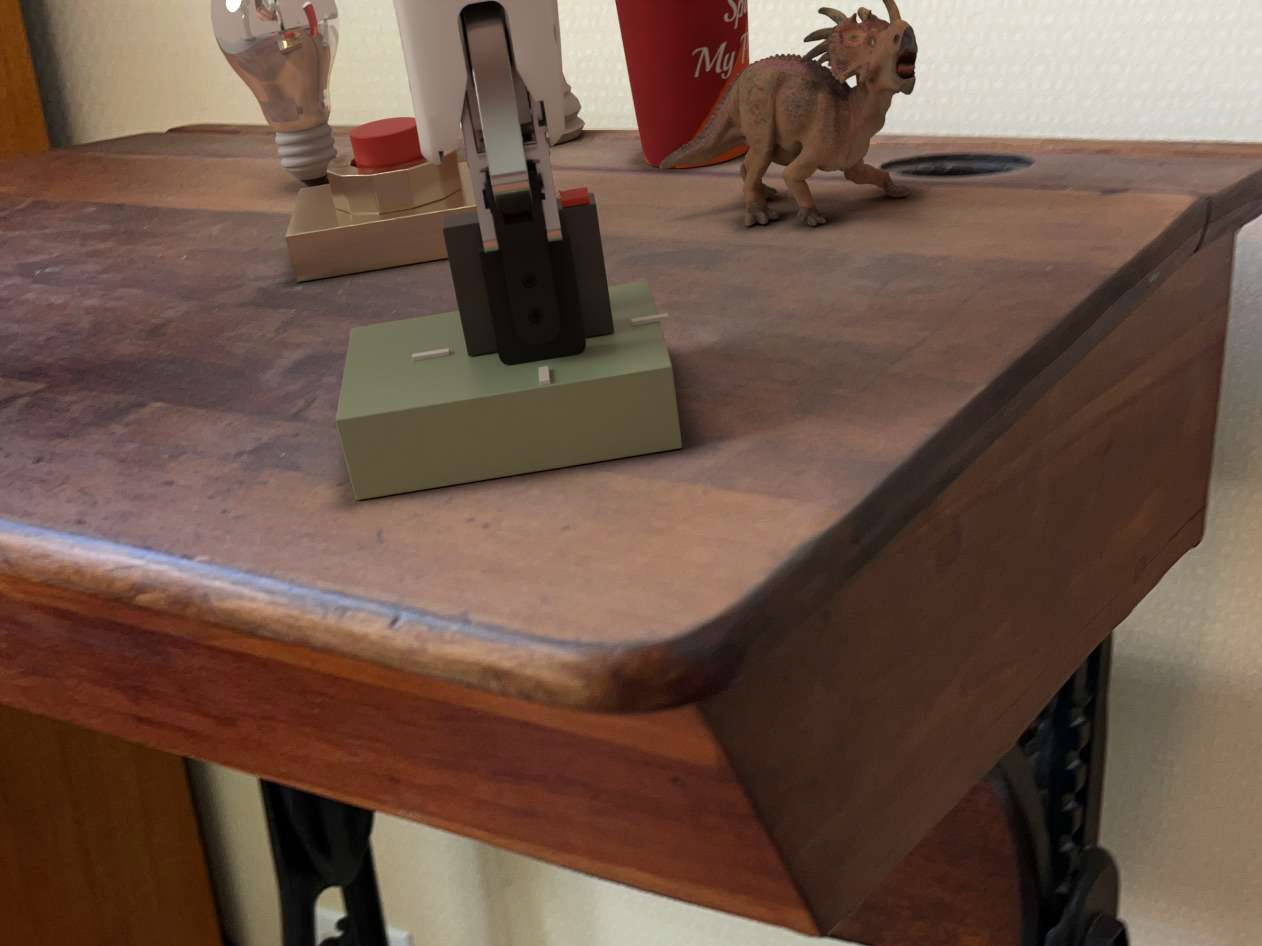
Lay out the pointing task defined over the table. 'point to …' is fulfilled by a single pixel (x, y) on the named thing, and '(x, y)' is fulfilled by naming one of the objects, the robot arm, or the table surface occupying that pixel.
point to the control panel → (501, 401)
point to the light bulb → (286, 72)
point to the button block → (376, 216)
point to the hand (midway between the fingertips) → (541, 333)
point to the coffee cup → (681, 67)
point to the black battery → (574, 219)
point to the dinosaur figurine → (812, 111)
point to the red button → (386, 142)
